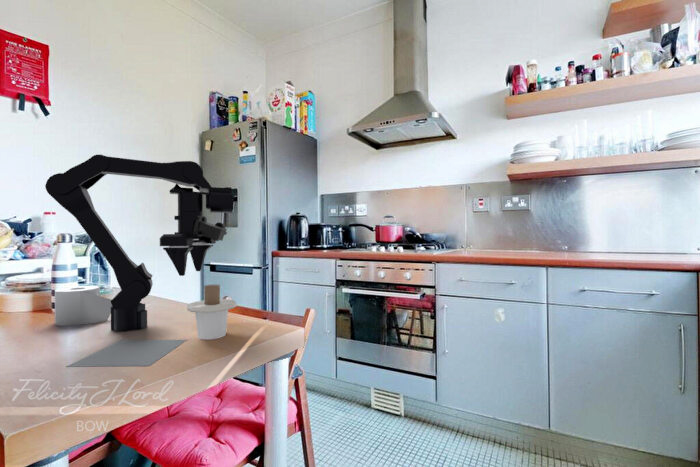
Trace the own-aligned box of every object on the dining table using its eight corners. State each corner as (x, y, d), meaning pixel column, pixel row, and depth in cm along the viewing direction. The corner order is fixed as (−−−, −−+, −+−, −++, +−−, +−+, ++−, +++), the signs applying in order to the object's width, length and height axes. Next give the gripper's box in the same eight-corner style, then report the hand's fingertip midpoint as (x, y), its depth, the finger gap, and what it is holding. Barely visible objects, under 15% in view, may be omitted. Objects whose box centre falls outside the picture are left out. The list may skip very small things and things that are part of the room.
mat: (66, 371, 58) (66, 366, 57) (120, 343, 72) (120, 340, 72) (149, 370, 58) (149, 365, 58) (187, 343, 72) (187, 339, 72)
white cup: (233, 334, 78) (233, 304, 78) (219, 344, 71) (219, 311, 71) (205, 333, 79) (205, 303, 79) (188, 343, 72) (188, 310, 72)
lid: (178, 312, 70) (178, 289, 70) (199, 302, 80) (199, 282, 80) (227, 312, 70) (227, 289, 70) (241, 302, 80) (241, 282, 80)
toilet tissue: (114, 320, 90) (114, 288, 90) (49, 327, 84) (49, 292, 84) (118, 313, 98) (118, 283, 98) (60, 319, 92) (59, 287, 92)
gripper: (207, 209, 77) (207, 278, 77) (234, 214, 96) (234, 269, 96) (158, 210, 77) (158, 278, 77) (194, 214, 96) (194, 269, 96)
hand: (190, 273), depth 87 cm, fingers open, 9 cm apart
